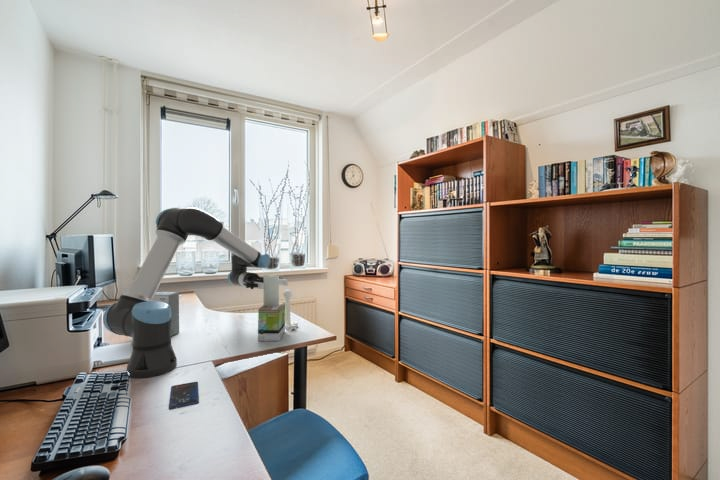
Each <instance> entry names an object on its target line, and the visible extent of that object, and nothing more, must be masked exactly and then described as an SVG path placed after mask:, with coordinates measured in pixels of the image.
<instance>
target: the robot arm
mask: <svg viewBox="0 0 720 480" xmlns="http://www.w3.org/2000/svg"><path fill="white" fill-rule="evenodd" d="M155 225H156V230H155V234H156V236H157V237H156V239H155V241H154V243H153V244H152V246H151V249H150V251H149V252H148V253H147V256H146V257H145V259H144V262H143V263H142V265H141V267H140V269H139V271H138V272H137V274H136V276H135V277H134V279H133V282H132V284H131V285H130V288H129V289H128V290H127V291H126V292H124V293H122V294H121V295H120V297H119V298H118V299H117V301H116V302H114V303H112V304H110V305H109V306H108V307H107V308H106V309H105V311H104V313H103V316H102V322H103V325H104V328H106V330H107V331H109V332H110V333H113V334H115V335H119V336H124V337H130V338H132V352H131V354H130V357H129V360H128V363H127V365H126V372H127V371H128V372H129V373H130V377H129V378H134V379H141V378H152V377H156V376H160V375H163V374H165V373H168V372H171V371H172V370H174V369H176V368H177V365H178V364H177V363H178V361H177V356H176V353H175V351H174V349H173V346H172V336H171V317H172V314H171V308H170V306H169V305H168V304H167V303H164V302H159V301H157V302H154V301H153V297H154V295H155V293H156V292H158V289H159V288H160V287H159V286H160V284H161V282H162V280H164V279H163V278H164V277H165V275H166V272H167V270H168V268H169V266H170V264H171V262H172V260H173V258H174V257H175V254H176V252H177V250H178V248H179V246H180V245H183V244H185V243H186V241H187V239H188V237H189V236H196V237H201V238H203V239H205V240H206V241H213V242H215V243H216V244H217V245H219V246H220V247H222V248H224V249H225V250H227V251H228V252H230V253H231V271H230V272H229V273H228V275H227V280H228V282H229V283H230V284H232V285H235V286H238V287H245V288H246V289H249V288H250V290H253V289H260V290H264V276H263V277H262V276H259V274H257V272H256V273H255V272H249V271H248V268H257V269H265V268H268V267H269V266H270V263H271V257H270V255H269V254H268V253H264V252H260V251H258V250H257V249H255V247H252V246H251V245H250V244H249V243H247V242H246V241H244V239H242V238H240V237H239V236H238V235H236V234H234V233H233V232H232V231H231V230H229V229H228V228H227V227H224V224H223V222H222V221H221V220H219V219H218V218H216V217H215V216H214V215H211V214H210V213H208V212H206V211H205V210H203V209H200V208H198V207H171V208H166V209H163V210H162V211H160V213H159V214H158V215H157V217H156V219H155ZM288 281H289V280H288V279H284V278H283V277H281V276H279V286H281V285H282V286H288V285H289V283H288Z"/></svg>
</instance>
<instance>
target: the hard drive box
mask: <svg viewBox="0 0 720 480" xmlns="http://www.w3.org/2000/svg"><path fill="white" fill-rule="evenodd" d="M153 301H154V302H157V301H159V302H164V303H167V304H168V305H169V306H170V308H171V314H172V317H171V337H173V336H174V335H177V334H179V333H180V293H179V292H178V291H177V292H175V291H156V293H155V295H154V297H153Z"/></svg>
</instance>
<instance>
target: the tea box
mask: <svg viewBox="0 0 720 480" xmlns="http://www.w3.org/2000/svg"><path fill="white" fill-rule="evenodd" d="M285 305H286V302H279V305H278V306H274V307H265V306H263V305H262V306H260V307H259V308H258V312H257V313H258V315H257V316H258V319H257V323H258V324H257V341H258V342H275V341H276V342H277V341H278V342H279V341H280V339H281V338H282V337H283V335H284V333H285Z"/></svg>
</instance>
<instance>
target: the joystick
mask: <svg viewBox="0 0 720 480" xmlns="http://www.w3.org/2000/svg"><path fill="white" fill-rule="evenodd" d="M292 296H293V291H292V290H291V289H284V291H283V297H284V298H285V329H286V331H288V330H292V331H293V330H297V327H298V325H299V324H298V323H299V322H298V321H291V297H292Z"/></svg>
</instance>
